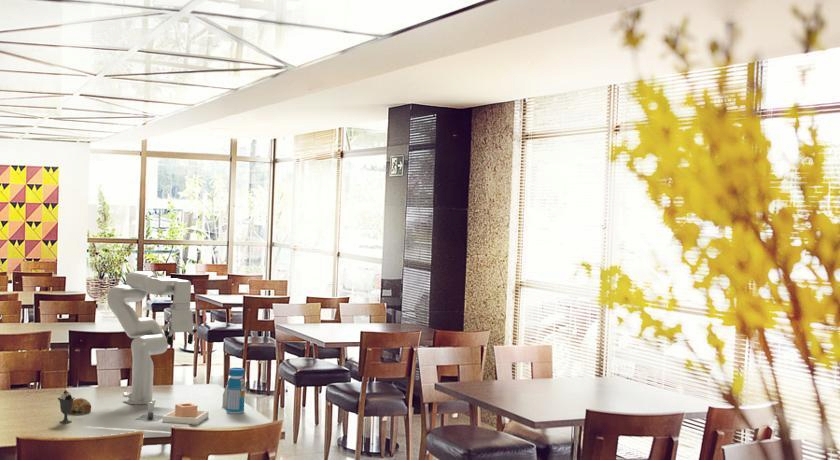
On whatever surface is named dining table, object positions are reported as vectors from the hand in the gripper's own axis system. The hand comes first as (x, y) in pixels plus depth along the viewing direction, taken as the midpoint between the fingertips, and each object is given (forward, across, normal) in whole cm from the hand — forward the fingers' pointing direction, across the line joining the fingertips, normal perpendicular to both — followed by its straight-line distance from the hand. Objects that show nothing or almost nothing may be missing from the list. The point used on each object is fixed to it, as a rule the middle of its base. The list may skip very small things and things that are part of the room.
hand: (179, 344), depth 374 cm
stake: (+30, -17, -11) cm, 37 cm away
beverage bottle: (+31, +21, -16) cm, 40 cm away
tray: (+30, -5, -20) cm, 37 cm away
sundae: (+31, -49, +1) cm, 58 cm away
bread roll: (+31, -38, +17) cm, 52 cm away
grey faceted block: (+31, +24, -6) cm, 39 cm away
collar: (+30, -5, -20) cm, 36 cm away
